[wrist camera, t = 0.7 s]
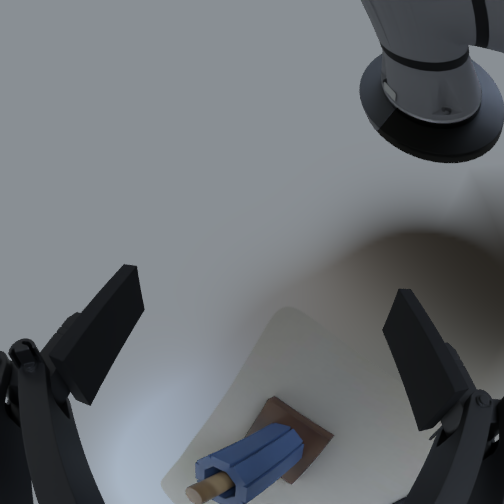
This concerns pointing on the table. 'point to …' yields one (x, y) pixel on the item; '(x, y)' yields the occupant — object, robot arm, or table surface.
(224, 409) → the table surface
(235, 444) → the sleeve
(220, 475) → the dowel stand
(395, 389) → the table surface
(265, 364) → the table surface
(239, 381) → the table surface
